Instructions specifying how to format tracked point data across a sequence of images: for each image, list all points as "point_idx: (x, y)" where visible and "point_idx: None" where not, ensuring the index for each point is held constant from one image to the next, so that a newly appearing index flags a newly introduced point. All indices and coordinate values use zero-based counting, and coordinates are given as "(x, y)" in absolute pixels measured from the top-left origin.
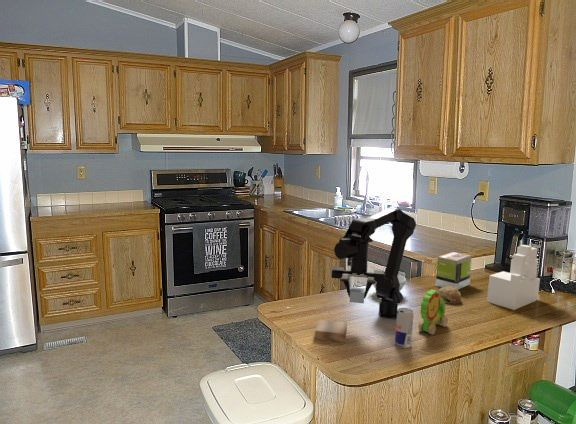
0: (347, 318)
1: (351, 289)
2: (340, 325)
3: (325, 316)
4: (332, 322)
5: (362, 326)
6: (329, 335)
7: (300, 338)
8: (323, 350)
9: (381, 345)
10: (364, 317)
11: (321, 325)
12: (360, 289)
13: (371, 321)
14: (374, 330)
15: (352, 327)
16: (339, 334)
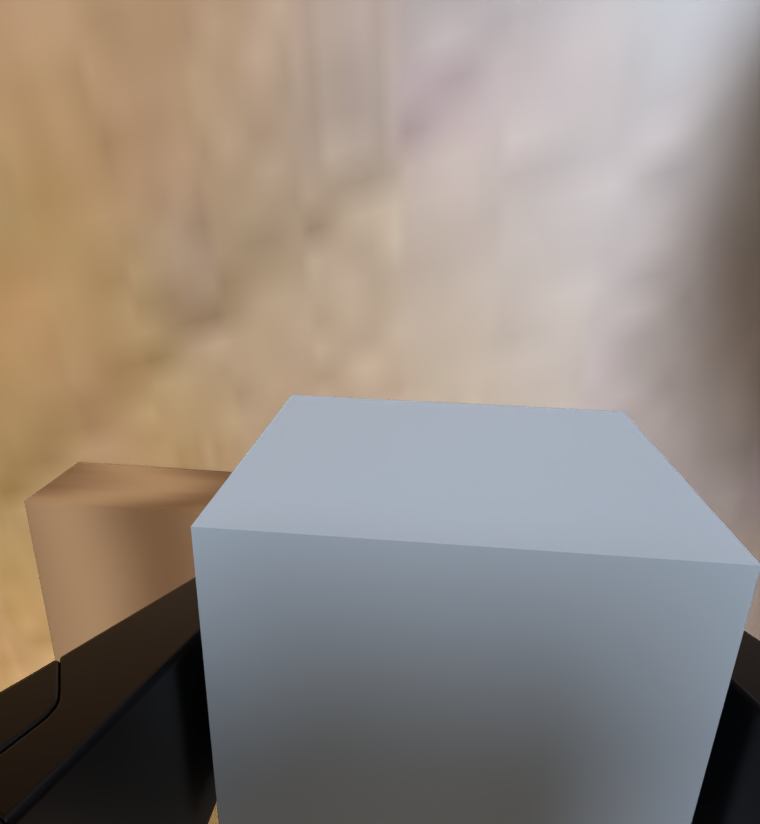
0: (342, 120)
1: (247, 767)
2: None
3: (66, 126)
4: (181, 553)
5: (524, 341)
6: None
7: (8, 682)
8: (213, 818)
9: None
10: (579, 9)
11: (92, 637)
12: (557, 722)
13: (661, 147)
14: (652, 422)
15: (410, 392)
16: None
